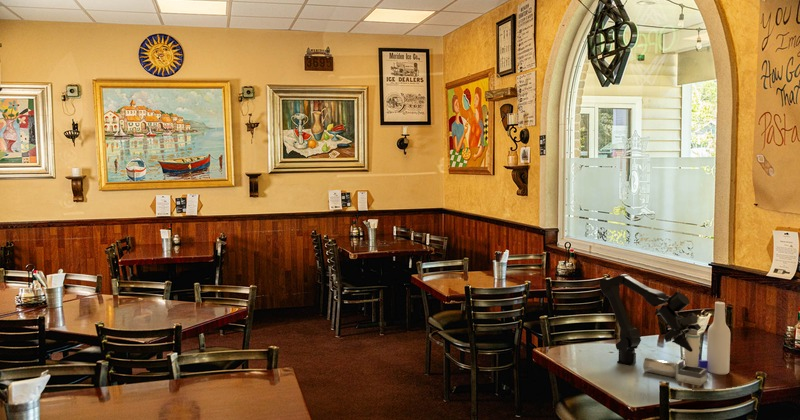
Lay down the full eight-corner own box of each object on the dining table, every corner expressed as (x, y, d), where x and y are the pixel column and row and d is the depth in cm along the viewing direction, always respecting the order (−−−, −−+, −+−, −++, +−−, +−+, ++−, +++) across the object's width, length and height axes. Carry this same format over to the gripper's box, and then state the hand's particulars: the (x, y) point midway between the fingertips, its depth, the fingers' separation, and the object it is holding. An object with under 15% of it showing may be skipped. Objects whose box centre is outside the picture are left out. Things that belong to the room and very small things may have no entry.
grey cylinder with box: (641, 373, 281) (642, 357, 280) (649, 368, 288) (649, 352, 287) (700, 385, 266) (701, 368, 265) (706, 380, 273) (707, 363, 272)
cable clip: (687, 366, 292) (688, 352, 291) (698, 366, 291) (698, 353, 291) (696, 374, 280) (696, 361, 280) (707, 375, 279) (707, 361, 279)
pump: (685, 366, 269) (686, 331, 268) (684, 362, 274) (686, 328, 273) (698, 367, 267) (700, 332, 266) (698, 364, 272) (699, 329, 271)
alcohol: (727, 376, 278) (730, 305, 275) (705, 372, 282) (707, 303, 280) (730, 370, 285) (732, 301, 283) (707, 367, 290) (710, 299, 287)
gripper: (671, 310, 267) (696, 343, 259) (697, 304, 277) (722, 336, 269) (653, 325, 274) (677, 358, 266) (679, 319, 285) (702, 350, 276)
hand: (695, 350), depth 269 cm, fingers closed on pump, 5 cm apart
